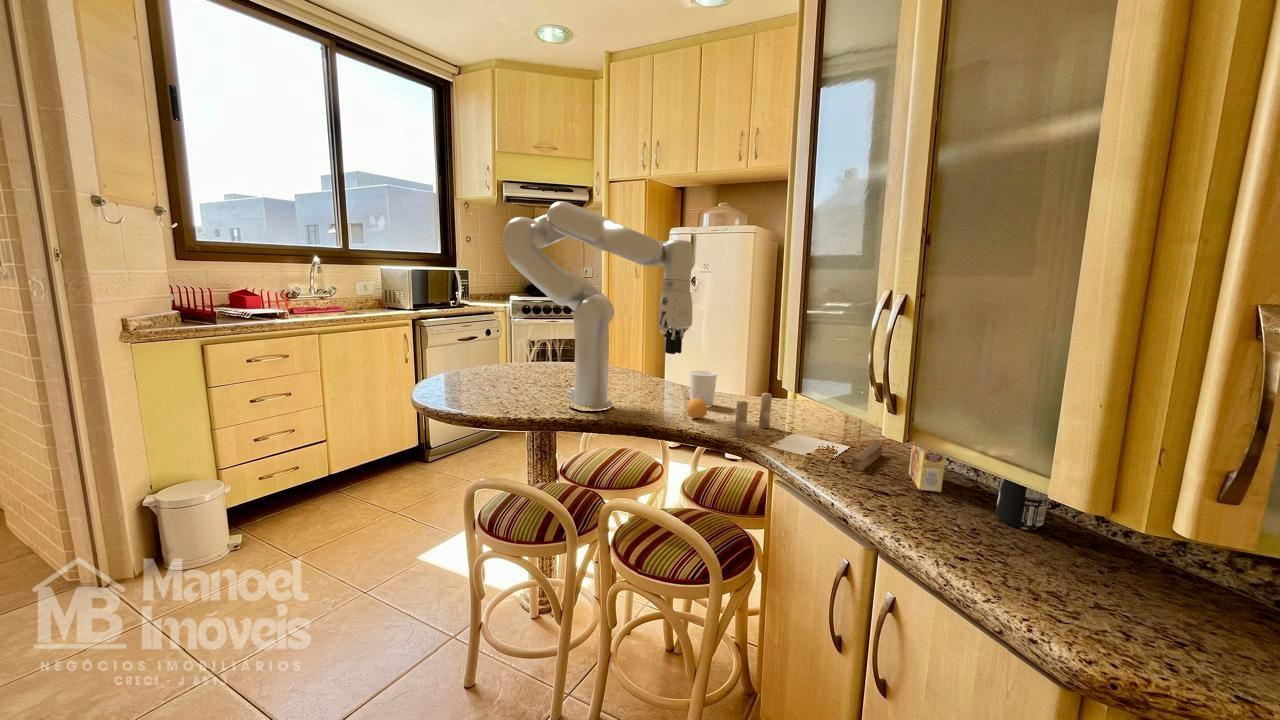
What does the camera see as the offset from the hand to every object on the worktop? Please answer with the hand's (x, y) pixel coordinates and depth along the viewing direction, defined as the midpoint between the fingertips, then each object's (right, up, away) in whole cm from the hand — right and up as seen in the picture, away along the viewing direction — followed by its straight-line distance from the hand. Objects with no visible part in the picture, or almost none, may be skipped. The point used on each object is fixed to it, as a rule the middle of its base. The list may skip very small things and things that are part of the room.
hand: (673, 352), depth 145 cm
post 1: (+15, -21, -18) cm, 32 cm away
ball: (+6, -15, -3) cm, 17 cm away
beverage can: (+55, -30, -57) cm, 85 cm away
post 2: (+23, -20, -9) cm, 32 cm away
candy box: (+47, -27, -42) cm, 68 cm away
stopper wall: (+41, -24, -31) cm, 57 cm away
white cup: (+9, -16, +12) cm, 22 cm away
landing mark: (+31, -23, -23) cm, 44 cm away
